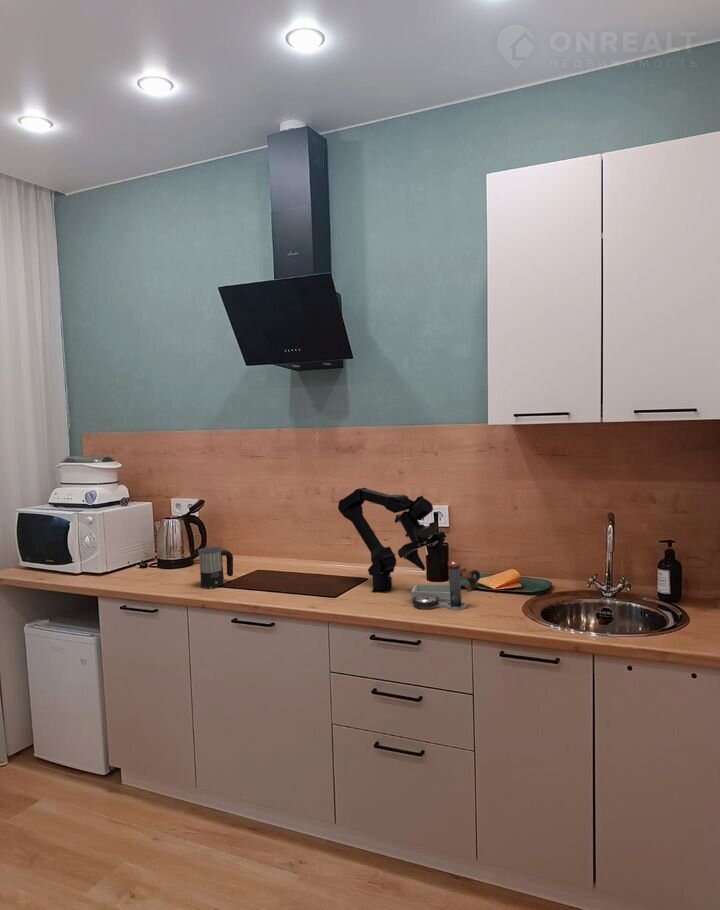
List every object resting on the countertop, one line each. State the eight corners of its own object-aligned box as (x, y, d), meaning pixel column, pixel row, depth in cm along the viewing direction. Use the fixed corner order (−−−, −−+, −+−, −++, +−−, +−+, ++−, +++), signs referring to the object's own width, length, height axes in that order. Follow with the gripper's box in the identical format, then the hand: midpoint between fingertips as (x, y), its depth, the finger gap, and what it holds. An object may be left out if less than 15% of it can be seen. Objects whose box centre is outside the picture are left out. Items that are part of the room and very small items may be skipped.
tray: (411, 600, 232) (411, 591, 232) (416, 592, 242) (415, 584, 241) (457, 601, 228) (457, 592, 228) (460, 593, 238) (460, 585, 238)
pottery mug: (462, 594, 238) (451, 573, 240) (452, 600, 247) (442, 579, 249) (489, 581, 243) (478, 561, 245) (479, 587, 251) (468, 567, 253)
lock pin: (448, 608, 221) (447, 563, 220) (450, 604, 225) (448, 560, 224) (461, 608, 220) (460, 563, 219) (463, 604, 224) (461, 560, 223)
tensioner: (411, 609, 222) (411, 599, 221) (415, 601, 230) (415, 592, 230) (465, 610, 217) (464, 601, 217) (467, 603, 226) (466, 593, 225)
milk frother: (210, 590, 257) (208, 552, 256) (184, 585, 267) (182, 548, 266) (238, 581, 269) (235, 545, 268) (212, 577, 278) (210, 542, 277)
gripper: (402, 523, 223) (425, 564, 218) (442, 509, 234) (465, 548, 228) (388, 538, 231) (409, 577, 226) (427, 524, 242) (449, 561, 237)
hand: (434, 566), depth 229 cm, fingers open, 9 cm apart
